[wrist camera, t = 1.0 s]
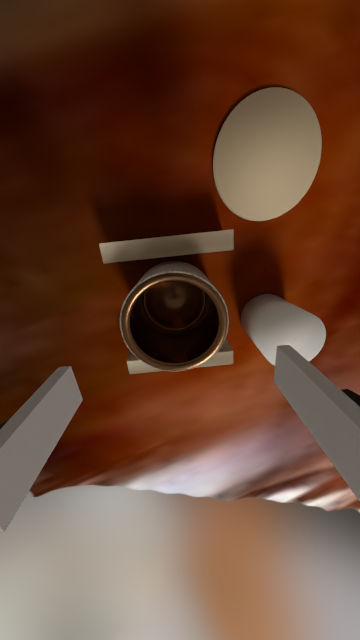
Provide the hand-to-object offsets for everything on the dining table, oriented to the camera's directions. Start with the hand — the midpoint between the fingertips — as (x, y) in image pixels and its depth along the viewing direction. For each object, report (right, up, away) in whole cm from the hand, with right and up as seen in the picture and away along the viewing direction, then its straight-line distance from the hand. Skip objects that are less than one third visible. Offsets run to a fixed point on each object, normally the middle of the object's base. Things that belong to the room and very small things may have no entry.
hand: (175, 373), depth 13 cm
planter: (-1, +6, +16) cm, 17 cm away
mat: (+10, +21, +10) cm, 25 cm away
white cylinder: (+13, +4, +17) cm, 21 cm away
